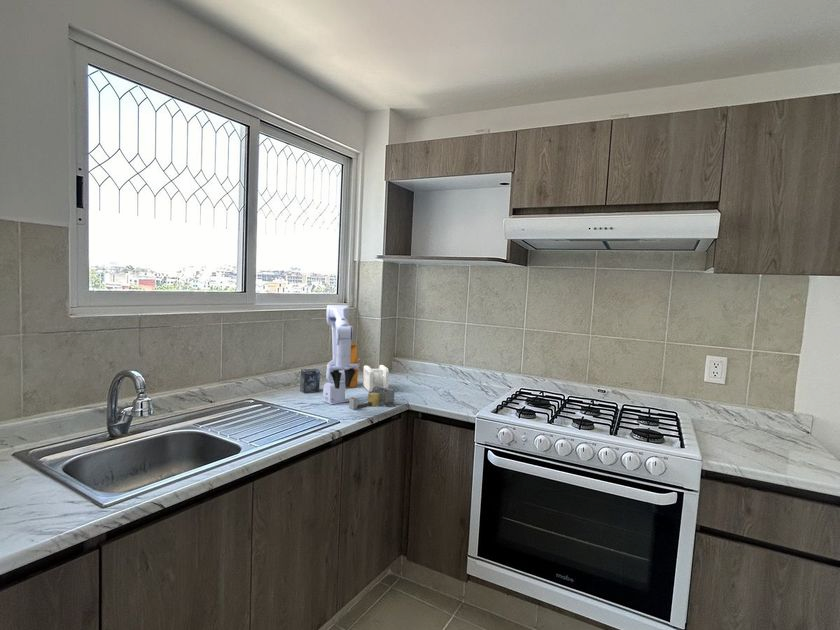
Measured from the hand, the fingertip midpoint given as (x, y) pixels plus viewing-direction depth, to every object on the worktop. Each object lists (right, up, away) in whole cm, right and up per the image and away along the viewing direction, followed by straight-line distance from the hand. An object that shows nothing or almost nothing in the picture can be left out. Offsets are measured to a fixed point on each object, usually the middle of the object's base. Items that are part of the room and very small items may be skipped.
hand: (342, 387), depth 186 cm
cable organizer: (+9, -8, +41) cm, 43 cm away
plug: (+8, -10, +9) cm, 16 cm away
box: (-21, -7, +31) cm, 38 cm away
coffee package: (-7, -7, +45) cm, 46 cm away
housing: (+16, -10, +16) cm, 25 cm away
